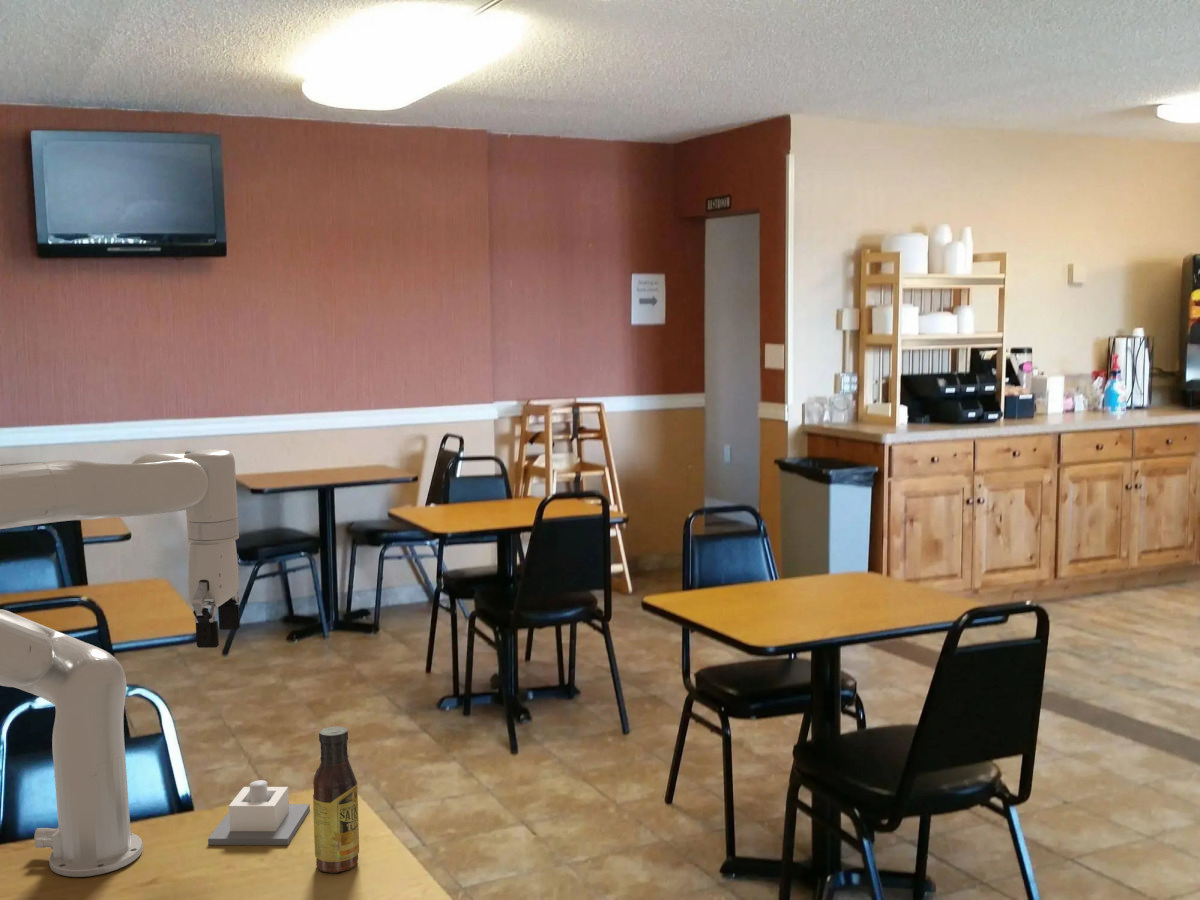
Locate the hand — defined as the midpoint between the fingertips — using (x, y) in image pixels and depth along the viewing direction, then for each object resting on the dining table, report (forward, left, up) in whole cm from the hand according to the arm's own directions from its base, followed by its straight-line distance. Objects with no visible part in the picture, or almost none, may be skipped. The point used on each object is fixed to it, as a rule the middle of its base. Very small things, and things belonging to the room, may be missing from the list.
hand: (219, 637), depth 185 cm
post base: (+7, -6, -28) cm, 30 cm away
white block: (+7, -6, -27) cm, 29 cm away
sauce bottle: (+22, -18, -28) cm, 40 cm away
